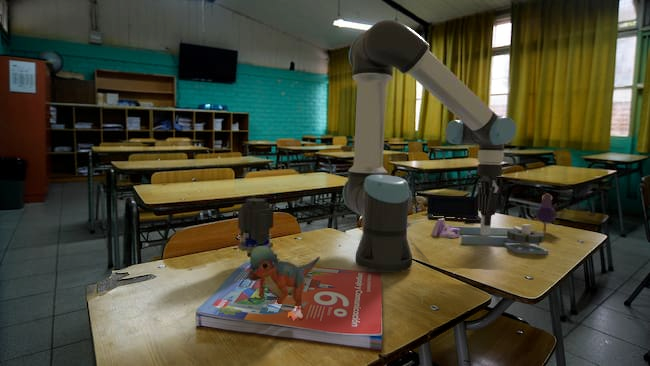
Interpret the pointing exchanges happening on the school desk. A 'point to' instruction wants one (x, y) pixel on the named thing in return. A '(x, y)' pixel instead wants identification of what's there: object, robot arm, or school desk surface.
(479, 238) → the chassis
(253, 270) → the toy
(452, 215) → the black laptop
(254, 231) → the toy
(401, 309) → the school desk surface
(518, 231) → the wheel
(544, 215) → the toy
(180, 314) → the school desk surface
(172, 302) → the school desk surface
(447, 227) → the letters
